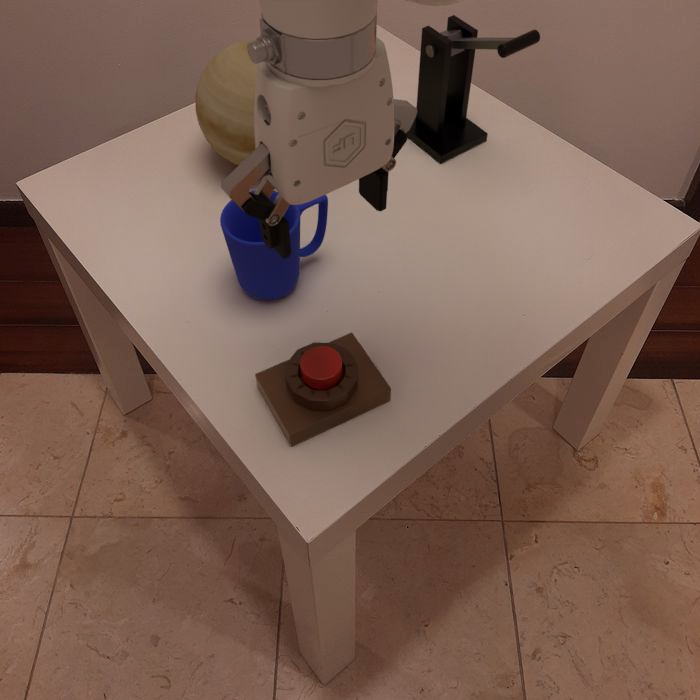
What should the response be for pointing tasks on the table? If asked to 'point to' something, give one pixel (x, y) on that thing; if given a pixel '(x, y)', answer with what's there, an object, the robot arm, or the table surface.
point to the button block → (322, 391)
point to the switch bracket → (445, 95)
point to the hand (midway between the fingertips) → (326, 224)
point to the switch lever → (492, 42)
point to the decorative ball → (228, 102)
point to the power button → (321, 367)
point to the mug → (261, 262)
